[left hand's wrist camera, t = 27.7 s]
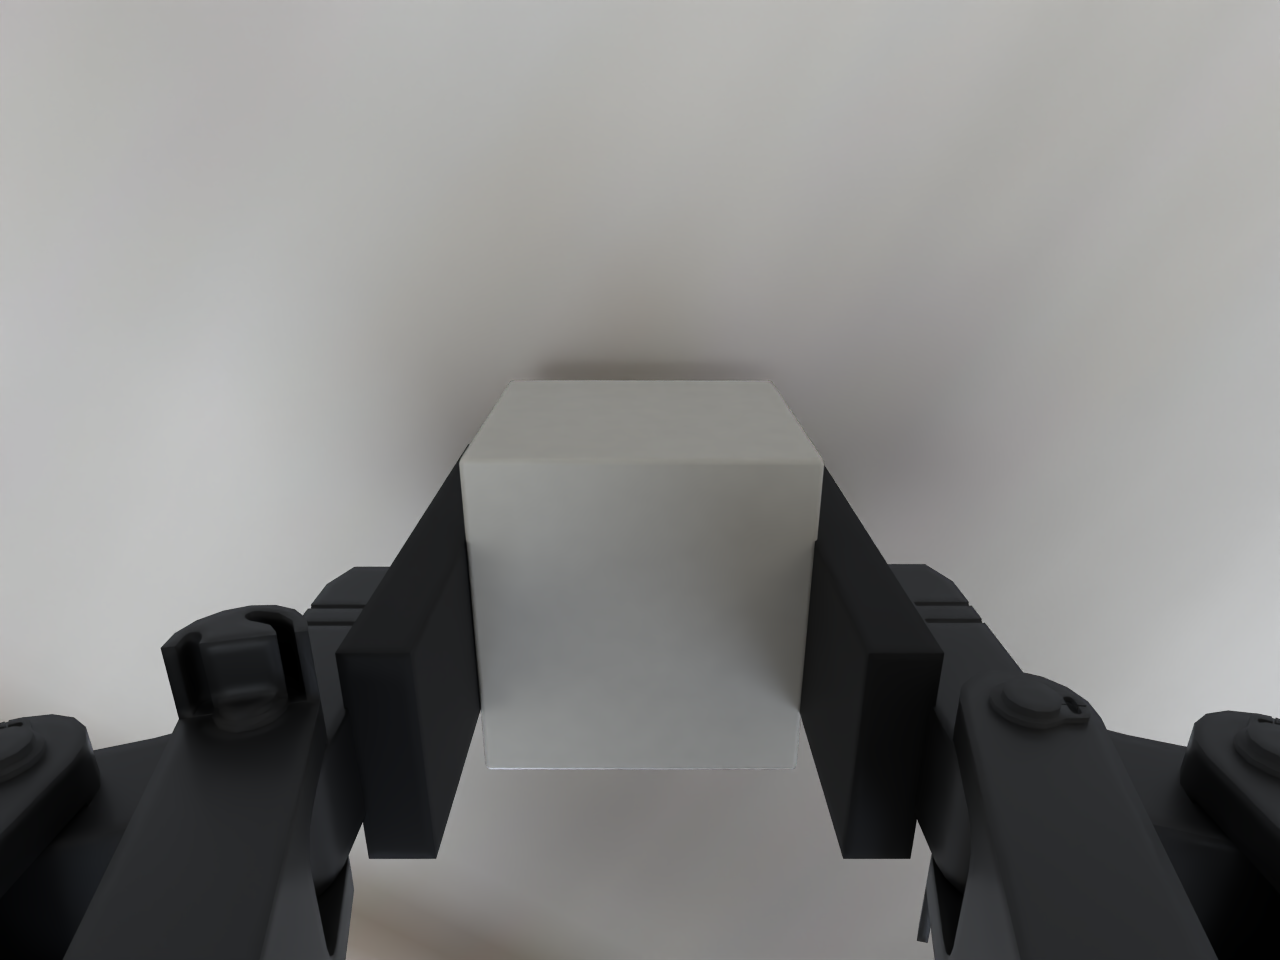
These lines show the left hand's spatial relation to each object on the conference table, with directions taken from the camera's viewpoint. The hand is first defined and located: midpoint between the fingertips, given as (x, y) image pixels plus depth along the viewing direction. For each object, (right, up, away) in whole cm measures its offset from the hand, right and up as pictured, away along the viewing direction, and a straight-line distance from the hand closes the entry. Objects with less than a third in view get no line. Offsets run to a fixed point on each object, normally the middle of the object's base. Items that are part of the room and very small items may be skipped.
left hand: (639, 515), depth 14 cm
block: (0, 0, 0) cm, 0 cm away
